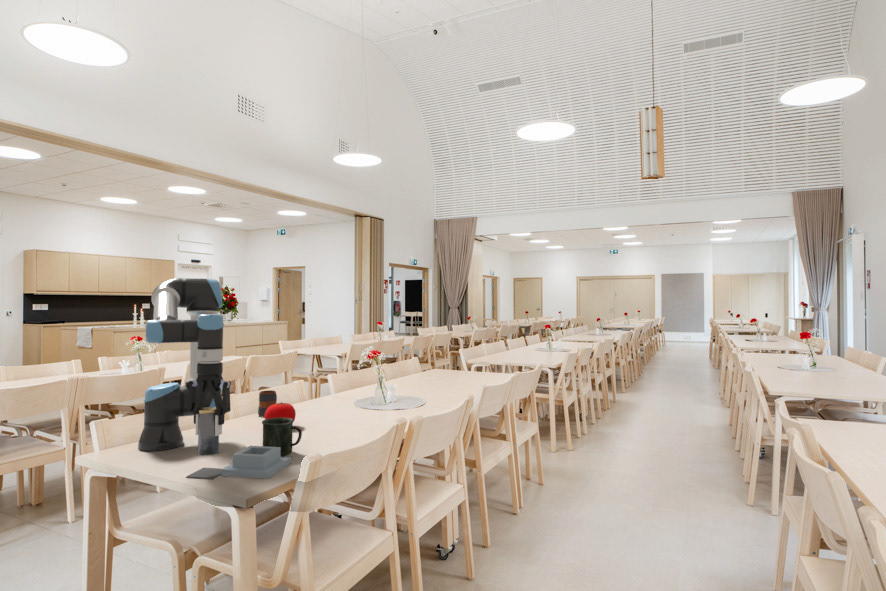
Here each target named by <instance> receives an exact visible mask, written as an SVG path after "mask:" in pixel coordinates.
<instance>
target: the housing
mask: <svg viewBox="0 0 886 591" xmlns="http://www.w3.org/2000/svg"><path fill="white" fill-rule="evenodd" d="M280 456H281V447H266V446H263V445H261V446H260V445H249V446H247V447H245V448H243V449H242V450H240V451H237V452H236V453H234V454H232V462H231V463H230V464H228V465H226V466H224V467H222V468H220V469H221V475H220V476H221V477H234V478H235V477H236V478H248V479H249V478H250V479H251V478H252V479H265V480H266V479H267V480H268V479H270V478H271V477H273V476H274V475H276V474H277V473H279V472H280V471H281V470H283V469H284V468H286V467H287V466H289V465H290V464H291V462H292V461H291V459H292V458H291V457H289V456H281V457H280Z"/></svg>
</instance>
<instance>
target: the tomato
mask: <svg viewBox="0 0 886 591" xmlns="http://www.w3.org/2000/svg"><path fill="white" fill-rule="evenodd" d="M263 418H264V420H266V419H270V418H291V419H293V420H294V421H295V420H296V409H295V408H294V405H292V404H290V403H286V402H282V401H281V402H278V403H277V402H276V404H273V405H271V406H269V407H268V409H267V410H266V412H265V415H264V417H263Z"/></svg>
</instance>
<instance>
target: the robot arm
mask: <svg viewBox="0 0 886 591" xmlns="http://www.w3.org/2000/svg"><path fill="white" fill-rule="evenodd" d="M150 299H151V303H152V306H153V316H152V317H153V319H151V320H150V319H149V320H147V321H146V322H145V341H146V342H147V343H149V344H170V343H172V344H174V343H189V344H190V345H189V348H190V349H189V355H190V356H189V377H188V378H187V379H186V380H185V385H182V386H181V385H180V383H179V382H168V383H161V384H157V385H153V386H149V387H148V388H147V389H146V390H145V392H144V400H143V403H144V409H143V410H144V413H143V421H144V422H143V429H142V432H141V434H140V436H139V440H138V442H137V443H138V445H137V446H138V447H137V448H138V450H139V451H145V452H146V451H147V452H149V451H150V452H154V451H155V452H156V451H165V450H171V449H174V448H178V447H181V446H182V445H183V444H184V436H183V433H182V430H181V426H180V424H179V423H180V422H179V418H180V417H189V416H191V417H192V416H193V424H194V425H195V436H198V427H199V409H201V408H206V407H216V409H217V413H218V414H216V415H215V436H218V435H219V436H220V435H223V425H224V424H225V414H227V413H230V412H231V408H232V407H231V394H230V393H231V390H230V389H231V385H232V382H231V381H230V380H229V381H227V380H225V379H224V378H223V369H224V368H223V365H224V364H223V363H222V361H223V360H224V355H223V354H224V349H223V347H224V344H223V342H224V316H223V315H222V314H218V313H219V309H221V308H223V295H222V289H221V285H220V281H218V280H217V279H212V278H211V279H210V278H184V277H183V278H181V277H177V278H172V279H168V280H165V281H162V282H161V283H159V284H158V286H156V287H155V288H154V290H153V291H152V294H151V298H150ZM178 308H182V309H183V308H186V314H188V315H189V316H190V319H179V313H178V310H179V309H178Z"/></svg>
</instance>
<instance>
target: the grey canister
mask: <svg viewBox="0 0 886 591" xmlns="http://www.w3.org/2000/svg"><path fill="white" fill-rule="evenodd" d="M216 414H218V413H217V409H216V407H206V408H201V409H199V427H198V435H197V436H198V439H197V444H198V445H197V455H199V456H212V455H213V456H214V455H216V454H218V453H219V450H220V449H219V445H220V435H218V436H215V415H216Z"/></svg>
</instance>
